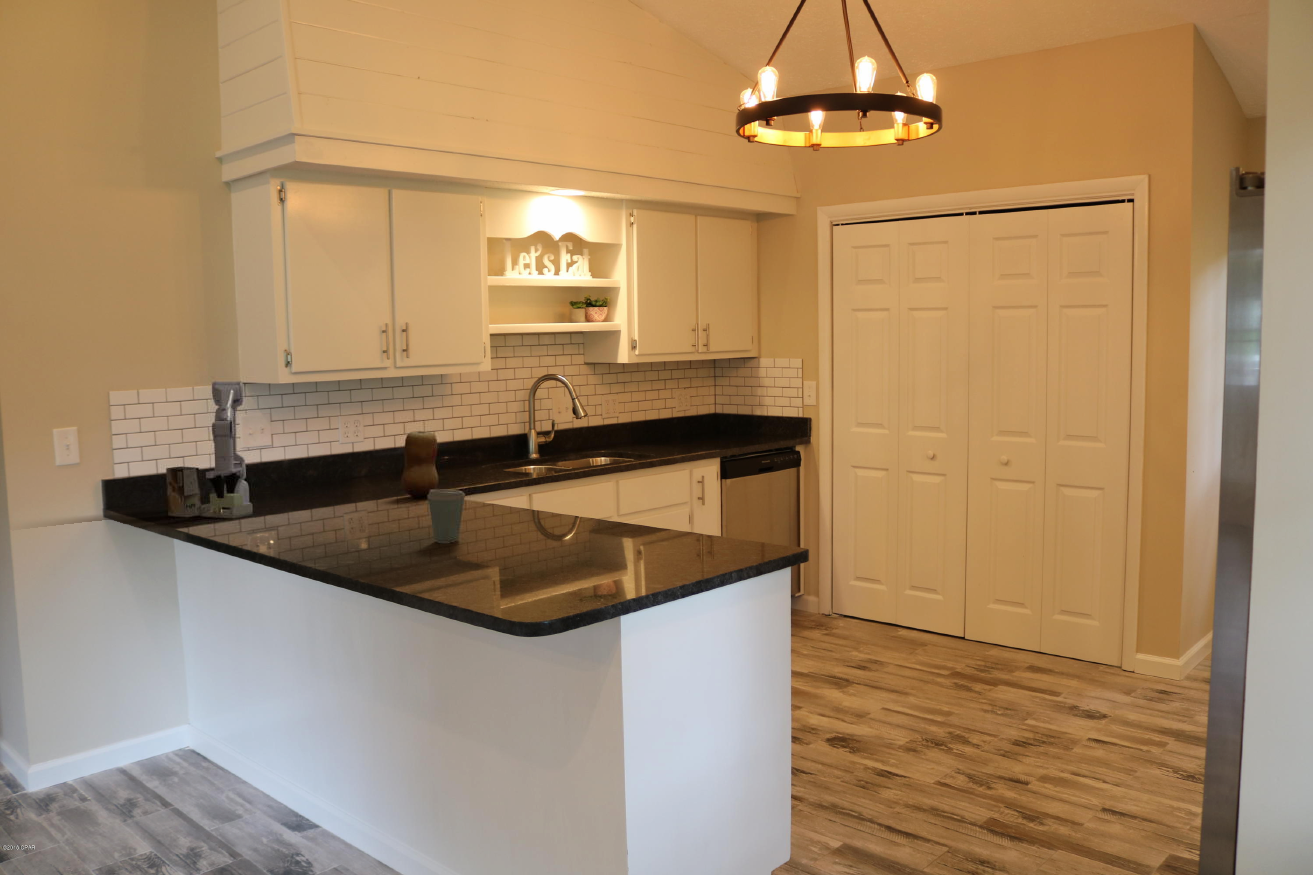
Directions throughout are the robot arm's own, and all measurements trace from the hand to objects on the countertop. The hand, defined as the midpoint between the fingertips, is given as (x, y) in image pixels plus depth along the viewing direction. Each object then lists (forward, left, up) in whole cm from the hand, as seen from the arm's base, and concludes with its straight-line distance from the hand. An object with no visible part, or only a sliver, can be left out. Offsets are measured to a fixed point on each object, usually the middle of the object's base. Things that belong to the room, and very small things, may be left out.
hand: (225, 497), depth 336 cm
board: (0, 0, -3) cm, 3 cm away
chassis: (0, 0, -6) cm, 6 cm away
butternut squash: (-58, +38, -6) cm, 70 cm away
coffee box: (+5, -13, -6) cm, 15 cm away
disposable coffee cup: (+18, +95, -6) cm, 97 cm away
